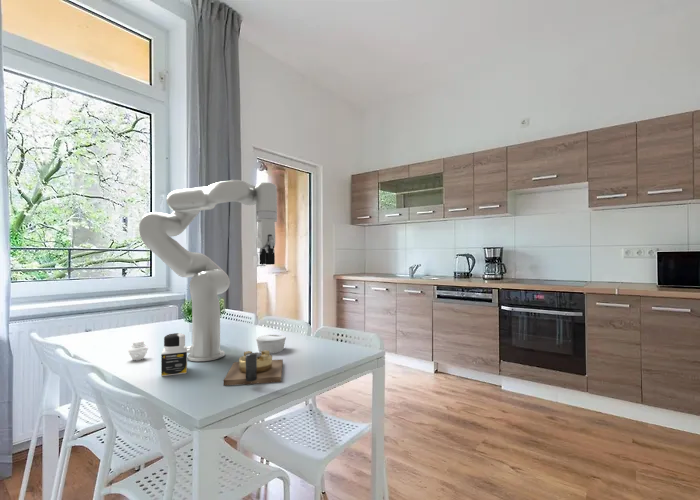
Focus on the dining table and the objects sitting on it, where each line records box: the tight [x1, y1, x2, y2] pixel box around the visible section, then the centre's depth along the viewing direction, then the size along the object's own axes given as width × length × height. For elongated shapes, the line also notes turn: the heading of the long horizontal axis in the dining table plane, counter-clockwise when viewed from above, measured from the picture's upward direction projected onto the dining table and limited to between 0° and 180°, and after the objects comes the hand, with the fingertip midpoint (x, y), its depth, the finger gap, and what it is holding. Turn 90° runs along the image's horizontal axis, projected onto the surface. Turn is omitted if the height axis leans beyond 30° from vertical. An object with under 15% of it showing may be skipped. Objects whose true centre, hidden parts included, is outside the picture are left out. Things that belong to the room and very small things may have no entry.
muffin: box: [127, 339, 149, 361], centre depth 129 cm, size 6×6×7 cm
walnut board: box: [223, 359, 284, 386], centre depth 111 cm, size 16×18×2 cm
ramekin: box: [255, 334, 287, 355], centre depth 139 cm, size 11×11×5 cm
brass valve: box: [238, 350, 273, 381], centre depth 107 cm, size 18×10×7 cm, turn 9°
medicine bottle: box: [160, 332, 188, 377], centre depth 114 cm, size 7×7×12 cm
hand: (266, 264), depth 129 cm, fingers open, 9 cm apart
